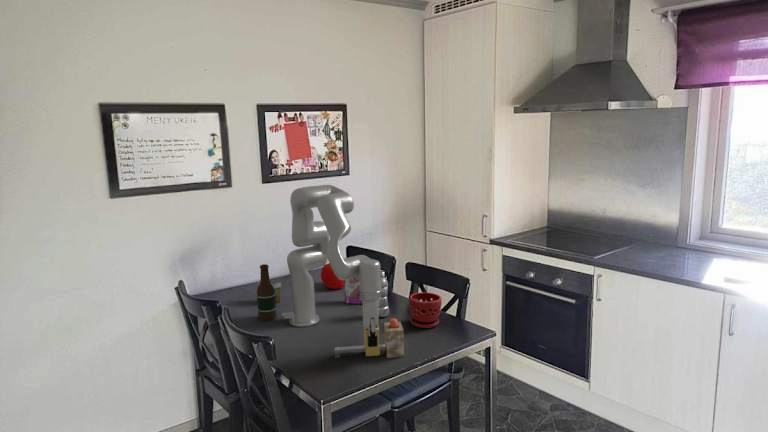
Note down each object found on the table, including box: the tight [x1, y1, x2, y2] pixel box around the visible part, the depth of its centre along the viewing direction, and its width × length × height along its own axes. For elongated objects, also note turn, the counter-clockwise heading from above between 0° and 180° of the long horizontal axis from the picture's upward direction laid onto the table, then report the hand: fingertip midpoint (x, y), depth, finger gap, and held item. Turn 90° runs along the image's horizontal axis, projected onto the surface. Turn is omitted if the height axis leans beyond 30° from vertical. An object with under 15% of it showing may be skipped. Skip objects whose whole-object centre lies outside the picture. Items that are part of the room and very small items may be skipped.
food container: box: [256, 279, 282, 305], centre depth 237 cm, size 12×6×10 cm, turn 68°
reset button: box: [389, 317, 398, 328], centre depth 182 cm, size 3×3×4 cm
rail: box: [334, 343, 386, 359], centre depth 182 cm, size 19×2×3 cm, turn 97°
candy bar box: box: [344, 277, 363, 305], centre depth 235 cm, size 11×5×16 cm, turn 84°
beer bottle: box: [256, 263, 277, 323], centre depth 217 cm, size 8×8×24 cm
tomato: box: [320, 262, 345, 290], centre depth 258 cm, size 16×14×14 cm
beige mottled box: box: [383, 321, 405, 359], centre depth 182 cm, size 6×8×10 cm
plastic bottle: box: [378, 270, 390, 318], centre depth 217 cm, size 6×7×20 cm
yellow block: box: [363, 326, 381, 357], centre depth 182 cm, size 5×5×10 cm
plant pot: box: [408, 291, 443, 329], centre depth 208 cm, size 13×13×12 cm
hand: (371, 342), depth 182 cm, fingers closed on yellow block, 5 cm apart
